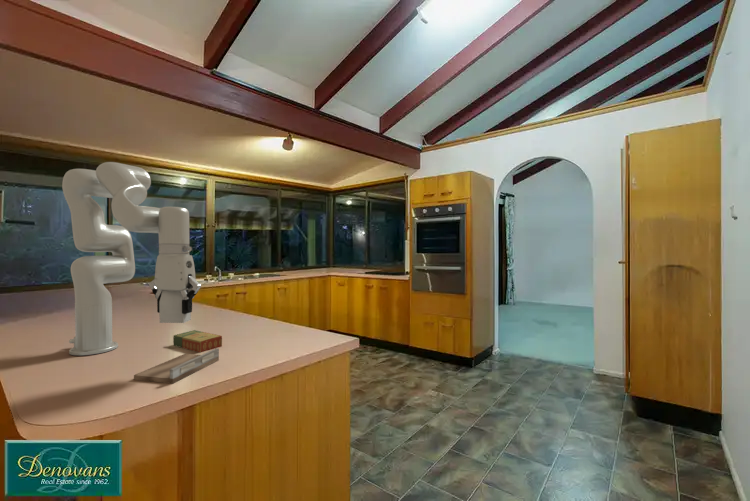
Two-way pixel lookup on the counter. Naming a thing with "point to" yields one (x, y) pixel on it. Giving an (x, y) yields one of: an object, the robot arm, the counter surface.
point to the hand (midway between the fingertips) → (174, 312)
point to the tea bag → (172, 307)
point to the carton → (197, 341)
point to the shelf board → (178, 367)
